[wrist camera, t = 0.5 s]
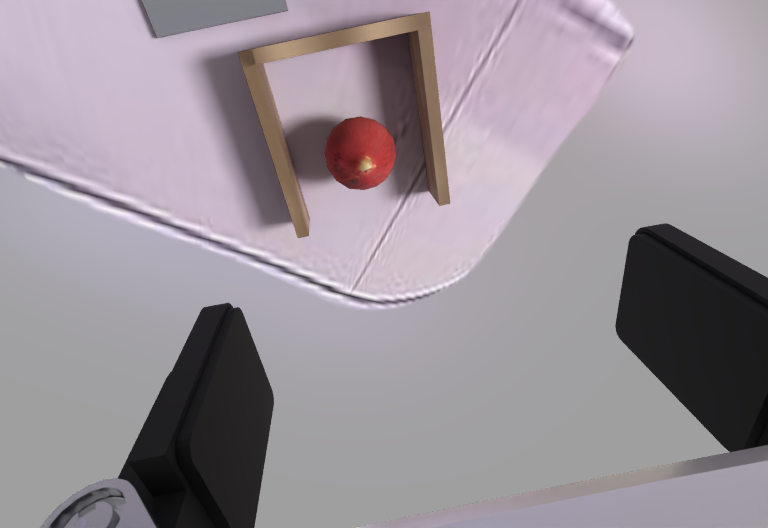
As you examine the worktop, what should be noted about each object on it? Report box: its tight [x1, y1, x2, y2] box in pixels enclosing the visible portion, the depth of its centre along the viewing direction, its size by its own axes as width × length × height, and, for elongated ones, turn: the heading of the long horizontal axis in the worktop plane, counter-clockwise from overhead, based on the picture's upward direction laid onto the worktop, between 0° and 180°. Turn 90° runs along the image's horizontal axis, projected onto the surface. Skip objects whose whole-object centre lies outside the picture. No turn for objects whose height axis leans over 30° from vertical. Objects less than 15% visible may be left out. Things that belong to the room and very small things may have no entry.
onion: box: [324, 117, 396, 190], centre depth 34 cm, size 6×6×8 cm
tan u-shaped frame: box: [238, 12, 450, 238], centre depth 35 cm, size 14×15×4 cm
